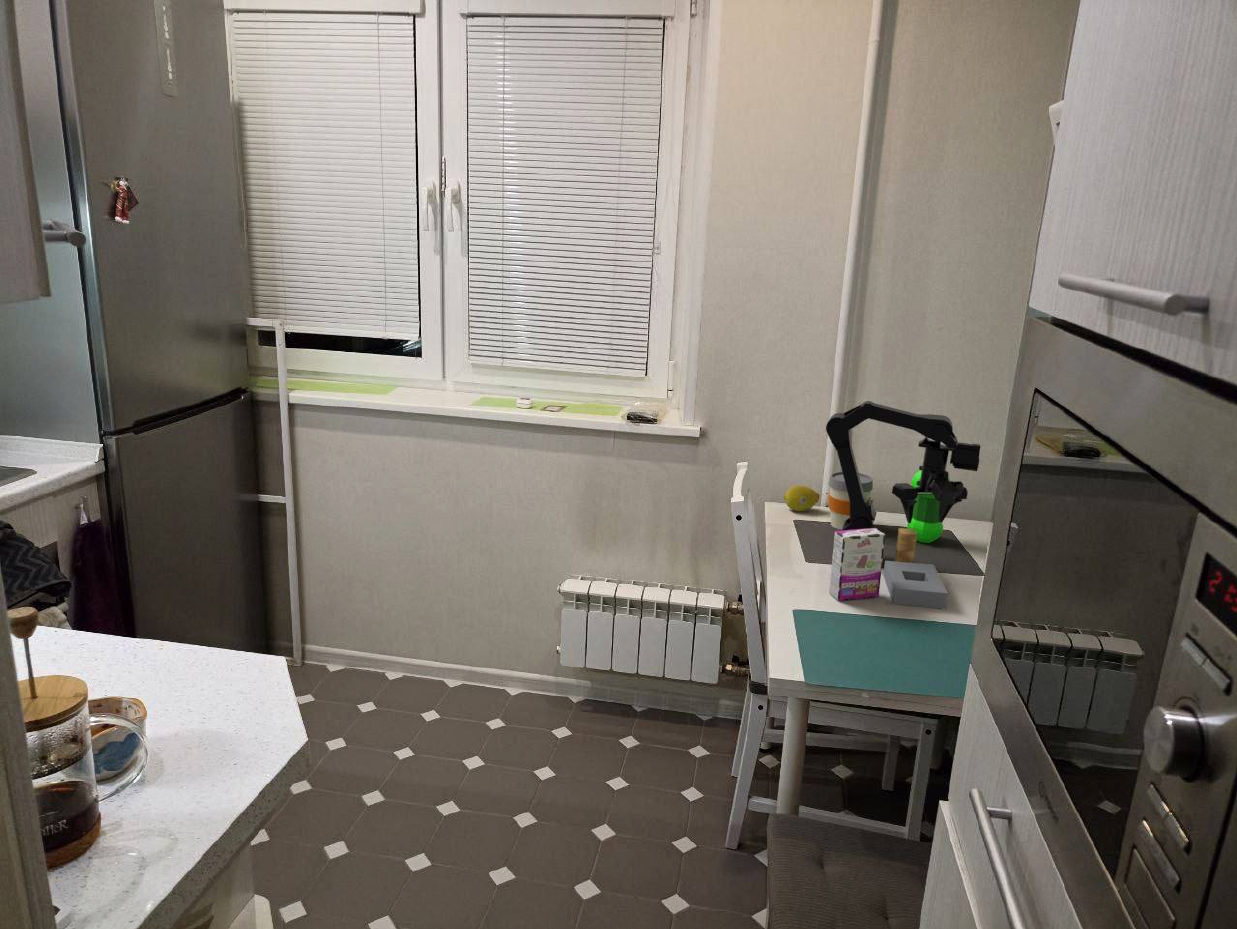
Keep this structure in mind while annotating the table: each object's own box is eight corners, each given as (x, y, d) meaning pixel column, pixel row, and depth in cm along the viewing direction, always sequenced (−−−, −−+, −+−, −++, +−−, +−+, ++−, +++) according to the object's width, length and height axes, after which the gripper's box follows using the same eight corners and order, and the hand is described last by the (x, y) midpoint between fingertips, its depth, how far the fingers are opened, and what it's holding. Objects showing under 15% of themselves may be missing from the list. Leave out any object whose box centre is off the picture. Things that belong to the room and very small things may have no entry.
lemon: (781, 512, 278) (783, 487, 275) (784, 504, 285) (786, 480, 283) (816, 516, 275) (819, 491, 273) (818, 509, 282) (821, 484, 280)
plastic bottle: (914, 530, 265) (925, 448, 258) (948, 540, 258) (960, 456, 251) (898, 538, 258) (908, 454, 251) (932, 548, 251) (944, 462, 244)
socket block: (893, 604, 214) (895, 588, 213) (883, 575, 232) (885, 560, 230) (945, 608, 213) (947, 593, 212) (931, 579, 230) (933, 564, 229)
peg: (896, 569, 236) (901, 533, 233) (894, 563, 240) (898, 528, 237) (912, 570, 235) (917, 534, 233) (909, 564, 239) (914, 529, 236)
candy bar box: (868, 589, 222) (875, 527, 218) (879, 598, 218) (886, 534, 213) (827, 593, 219) (834, 529, 215) (837, 601, 215) (844, 537, 210)
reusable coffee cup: (816, 520, 271) (821, 472, 267) (853, 517, 275) (858, 470, 271) (838, 534, 260) (843, 484, 256) (876, 531, 264) (882, 482, 260)
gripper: (918, 474, 221) (908, 534, 225) (985, 474, 225) (974, 532, 230) (895, 461, 231) (886, 519, 236) (959, 461, 236) (949, 517, 240)
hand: (924, 522), depth 235 cm, fingers open, 9 cm apart
